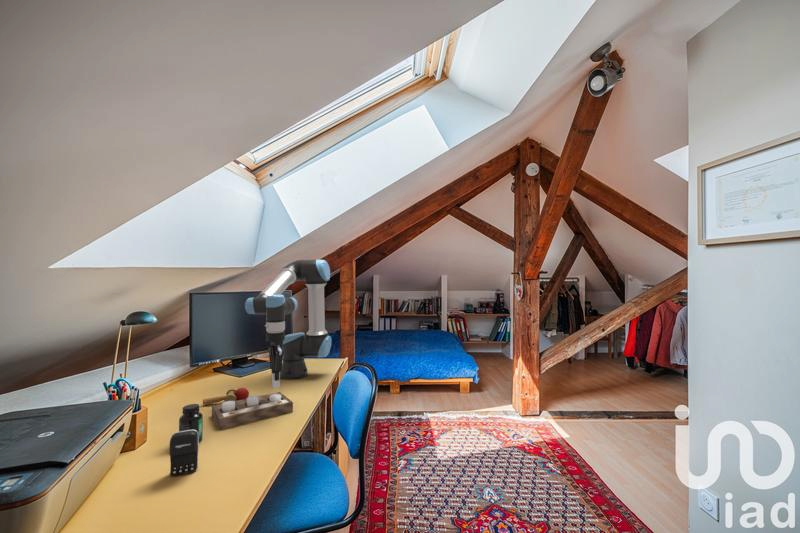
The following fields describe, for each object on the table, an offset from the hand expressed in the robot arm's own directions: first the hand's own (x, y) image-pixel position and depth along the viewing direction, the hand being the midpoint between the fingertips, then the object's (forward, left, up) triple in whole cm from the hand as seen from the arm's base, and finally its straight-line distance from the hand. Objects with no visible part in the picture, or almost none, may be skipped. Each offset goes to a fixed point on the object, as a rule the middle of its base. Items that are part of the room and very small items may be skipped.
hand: (275, 387), depth 146 cm
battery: (+36, +32, -9) cm, 49 cm away
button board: (+9, 0, -9) cm, 13 cm away
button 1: (+18, 0, -7) cm, 19 cm away
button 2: (0, 0, -8) cm, 8 cm away
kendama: (+15, -20, -9) cm, 27 cm away
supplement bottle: (+32, +12, -9) cm, 36 cm away
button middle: (+9, 0, -7) cm, 11 cm away
